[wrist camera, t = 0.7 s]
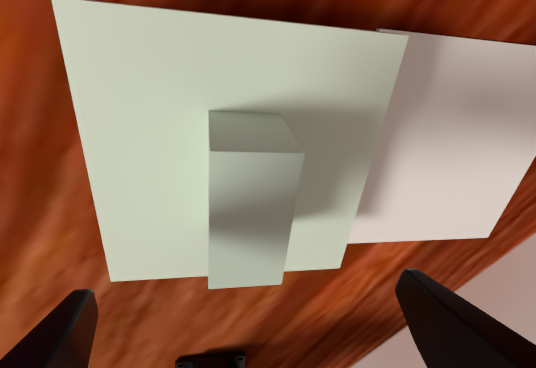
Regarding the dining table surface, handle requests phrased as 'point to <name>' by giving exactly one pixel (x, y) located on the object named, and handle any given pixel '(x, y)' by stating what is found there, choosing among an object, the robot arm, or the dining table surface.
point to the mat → (450, 140)
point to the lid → (223, 137)
